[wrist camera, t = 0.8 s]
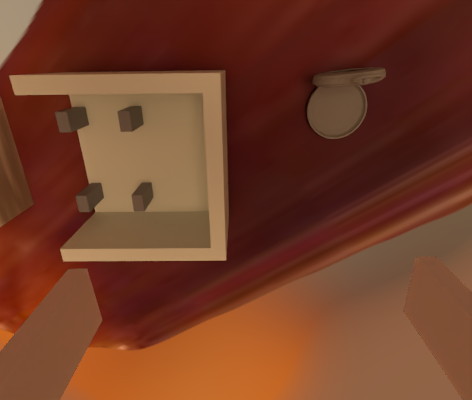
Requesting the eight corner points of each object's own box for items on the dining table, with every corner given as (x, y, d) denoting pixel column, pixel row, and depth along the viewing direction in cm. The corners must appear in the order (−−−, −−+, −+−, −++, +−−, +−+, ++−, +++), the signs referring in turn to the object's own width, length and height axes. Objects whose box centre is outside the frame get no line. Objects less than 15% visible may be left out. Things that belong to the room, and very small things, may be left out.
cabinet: (225, 70, 33) (220, 72, 24) (228, 216, 41) (225, 260, 32) (71, 72, 34) (9, 75, 25) (102, 217, 41) (63, 261, 32)
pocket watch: (326, 148, 37) (355, 176, 28) (284, 92, 34) (301, 102, 25) (386, 102, 35) (439, 116, 26) (347, 39, 32) (390, 29, 23)
